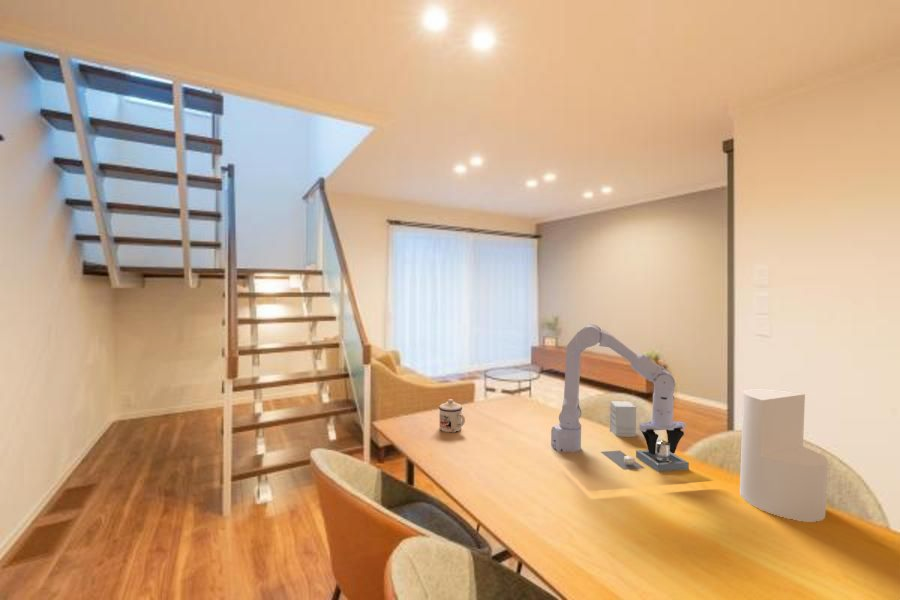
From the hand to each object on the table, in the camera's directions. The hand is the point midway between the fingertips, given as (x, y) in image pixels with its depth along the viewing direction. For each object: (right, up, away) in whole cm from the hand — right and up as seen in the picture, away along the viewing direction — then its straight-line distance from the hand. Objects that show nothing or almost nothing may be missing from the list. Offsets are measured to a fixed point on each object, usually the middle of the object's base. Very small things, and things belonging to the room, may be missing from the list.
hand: (661, 452), depth 125 cm
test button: (-11, -3, -2) cm, 12 cm away
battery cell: (0, -4, 0) cm, 4 cm away
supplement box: (-1, -4, +26) cm, 26 cm away
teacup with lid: (-65, -3, +32) cm, 72 cm away
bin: (0, -5, 0) cm, 5 cm away
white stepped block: (+21, -6, -20) cm, 29 cm away
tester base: (-12, -5, +2) cm, 13 cm away
